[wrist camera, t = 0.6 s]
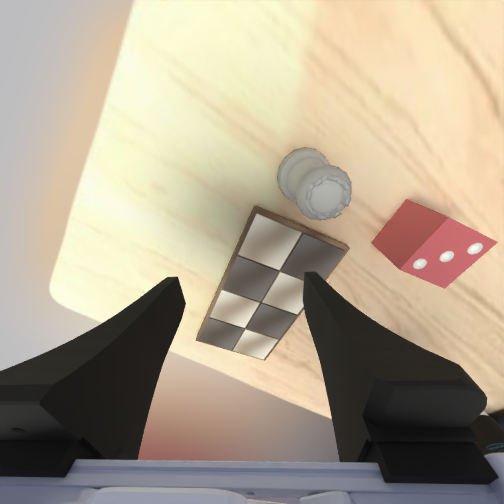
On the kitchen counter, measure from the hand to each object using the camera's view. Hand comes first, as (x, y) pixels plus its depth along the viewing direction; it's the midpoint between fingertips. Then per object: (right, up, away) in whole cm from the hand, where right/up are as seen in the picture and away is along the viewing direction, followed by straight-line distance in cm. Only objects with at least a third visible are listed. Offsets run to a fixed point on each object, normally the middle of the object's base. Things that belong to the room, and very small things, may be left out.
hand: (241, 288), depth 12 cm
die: (+16, +4, +9) cm, 19 cm away
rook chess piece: (+5, +9, +7) cm, 12 cm away
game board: (+2, -3, +14) cm, 14 cm away
